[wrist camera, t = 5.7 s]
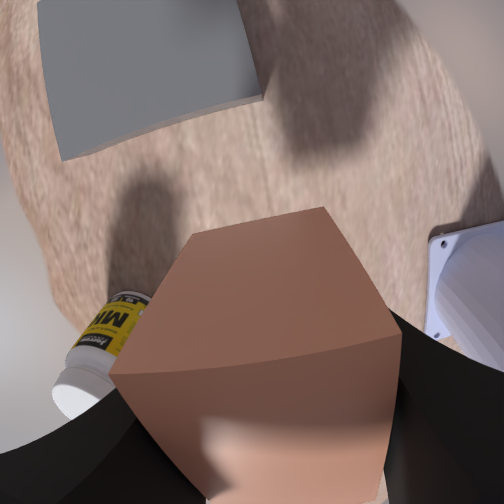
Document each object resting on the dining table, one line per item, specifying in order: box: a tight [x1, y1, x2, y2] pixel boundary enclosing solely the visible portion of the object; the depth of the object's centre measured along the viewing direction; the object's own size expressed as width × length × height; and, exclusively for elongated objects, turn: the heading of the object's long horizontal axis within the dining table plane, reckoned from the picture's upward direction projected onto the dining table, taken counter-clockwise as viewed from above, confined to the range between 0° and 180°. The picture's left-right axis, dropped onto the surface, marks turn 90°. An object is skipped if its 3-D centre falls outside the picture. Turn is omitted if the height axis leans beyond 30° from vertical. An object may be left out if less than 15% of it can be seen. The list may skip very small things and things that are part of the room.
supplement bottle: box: [52, 291, 151, 420], centre depth 16 cm, size 5×5×8 cm
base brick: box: [37, 0, 263, 162], centre depth 12 cm, size 10×10×3 cm
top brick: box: [108, 207, 402, 504], centre depth 8 cm, size 4×6×6 cm, turn 13°
